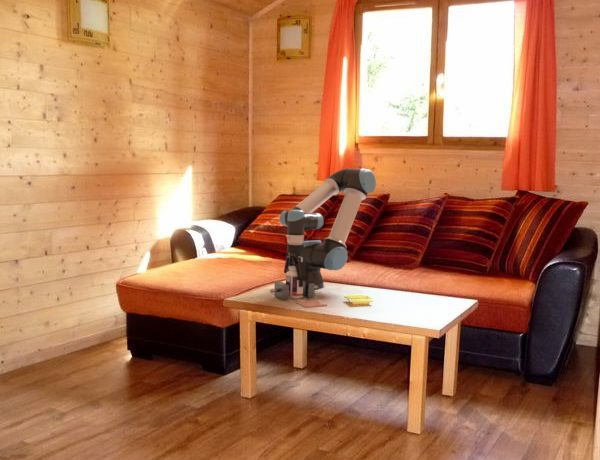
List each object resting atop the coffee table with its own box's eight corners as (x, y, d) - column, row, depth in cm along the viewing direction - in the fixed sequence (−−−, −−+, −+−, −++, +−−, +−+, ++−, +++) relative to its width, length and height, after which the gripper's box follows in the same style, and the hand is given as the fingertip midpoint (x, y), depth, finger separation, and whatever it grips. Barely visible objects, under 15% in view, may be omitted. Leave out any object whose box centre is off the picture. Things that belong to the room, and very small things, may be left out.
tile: (315, 300, 288) (315, 299, 288) (326, 305, 279) (326, 304, 279) (296, 302, 284) (296, 301, 284) (306, 307, 275) (306, 306, 275)
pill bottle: (305, 296, 297) (305, 265, 295) (299, 300, 289) (300, 268, 288) (288, 294, 299) (289, 264, 298) (282, 298, 292) (283, 267, 290)
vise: (312, 293, 304) (312, 279, 303) (321, 297, 296) (322, 282, 295) (266, 297, 293) (266, 282, 292) (274, 301, 285) (274, 286, 284)
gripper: (277, 240, 300) (276, 287, 302) (299, 247, 280) (298, 297, 282) (291, 240, 303) (290, 286, 306) (314, 246, 283) (313, 295, 286)
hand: (294, 291), depth 294 cm, fingers open, 10 cm apart
